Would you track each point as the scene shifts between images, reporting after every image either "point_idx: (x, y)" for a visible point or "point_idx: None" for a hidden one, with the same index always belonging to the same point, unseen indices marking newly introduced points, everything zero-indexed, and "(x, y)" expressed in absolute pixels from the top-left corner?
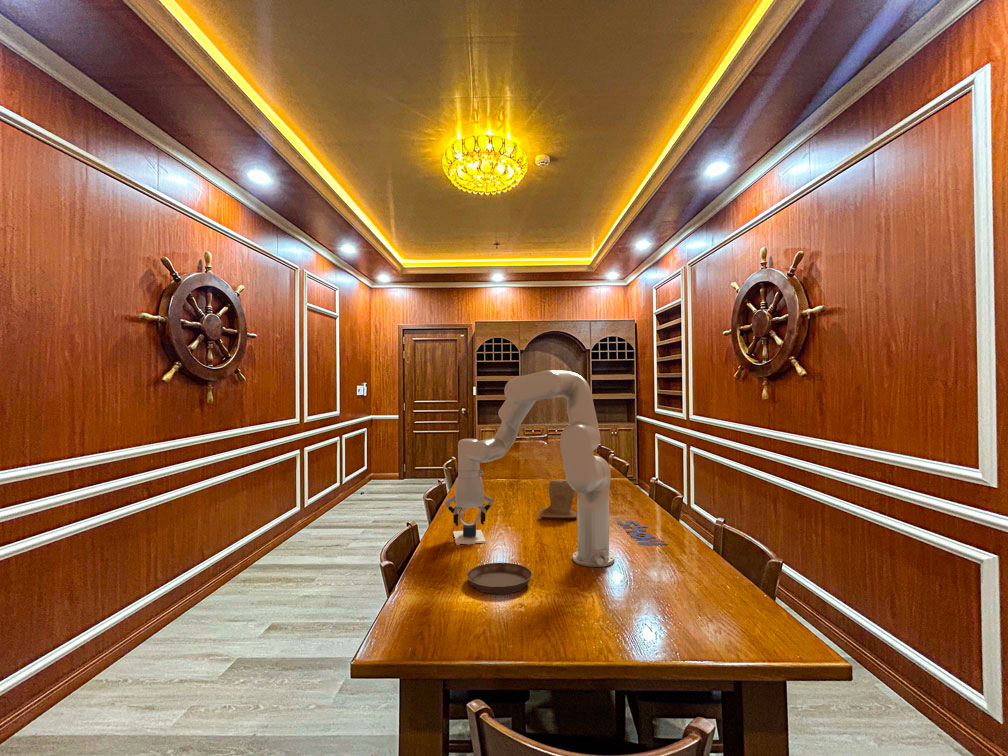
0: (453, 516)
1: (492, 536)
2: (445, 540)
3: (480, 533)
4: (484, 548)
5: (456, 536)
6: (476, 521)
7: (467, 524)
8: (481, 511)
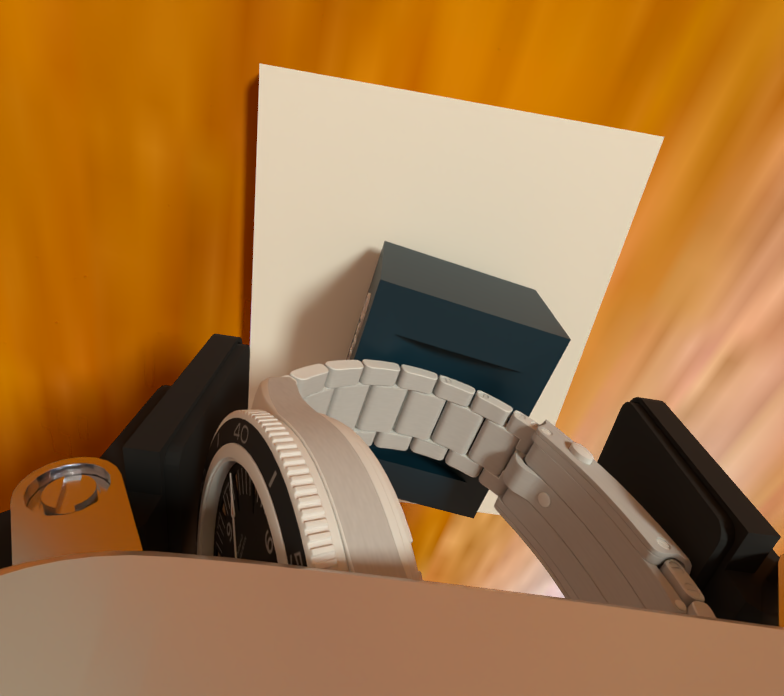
0: (116, 453)
1: (676, 349)
2: (154, 308)
3: (577, 297)
4: (457, 583)
5: (273, 309)
6: (521, 524)
7: (407, 388)
8: (715, 608)
